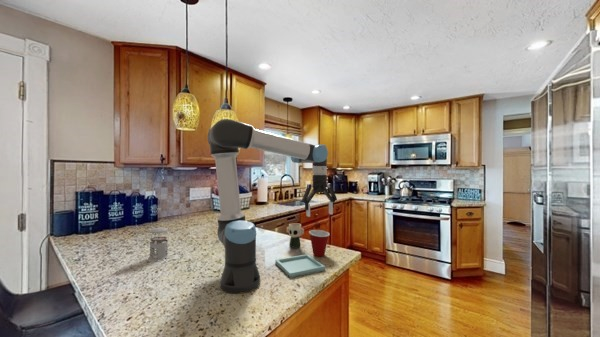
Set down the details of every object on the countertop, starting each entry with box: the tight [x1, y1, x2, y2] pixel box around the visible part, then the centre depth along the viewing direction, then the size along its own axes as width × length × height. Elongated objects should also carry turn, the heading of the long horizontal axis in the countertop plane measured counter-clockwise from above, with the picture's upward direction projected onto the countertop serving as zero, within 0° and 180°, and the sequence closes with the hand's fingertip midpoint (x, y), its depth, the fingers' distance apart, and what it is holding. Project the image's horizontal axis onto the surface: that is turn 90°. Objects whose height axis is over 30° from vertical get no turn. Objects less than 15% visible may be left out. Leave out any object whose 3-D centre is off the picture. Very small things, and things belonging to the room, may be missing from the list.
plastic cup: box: [308, 229, 330, 258], centre depth 126 cm, size 11×11×12 cm
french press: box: [147, 207, 170, 262], centre depth 123 cm, size 10×12×25 cm
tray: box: [274, 253, 326, 279], centre depth 111 cm, size 17×17×2 cm
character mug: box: [286, 222, 305, 249], centre depth 139 cm, size 11×7×13 cm, turn 66°
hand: (319, 215), depth 126 cm, fingers open, 13 cm apart
